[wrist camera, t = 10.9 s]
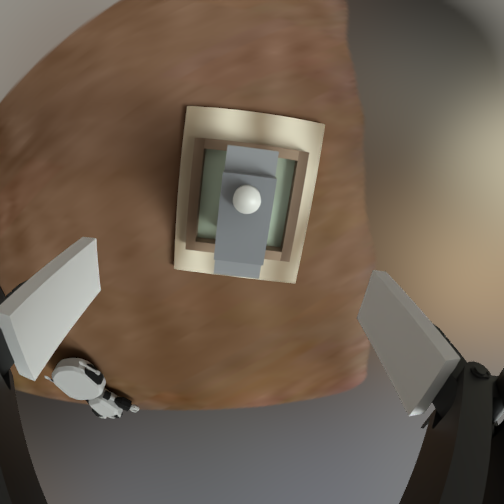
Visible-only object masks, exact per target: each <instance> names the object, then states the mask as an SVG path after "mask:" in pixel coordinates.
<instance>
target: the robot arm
mask: <svg viewBox="0 0 504 504" xmlns="http://www.w3.org/2000/svg"><path fill="white" fill-rule="evenodd" d="M100 290H101V288H100V279H99V269H98V258H97V243H96V238H88V237H82V238H81V239H79V240H78V241H77V242H75V243H74V244H73V245H71V246H70V247H69V248H67V249H66V250H65V251H63V252H62V253H61V254H60V255H58V256H57V257H56V258H54V259H53V260H52V261H51V262H49V263H48V264H47V265H46V266H44V267H43V268H42V269H41V270H40V271H38V272H37V273H36V274H35V275H34V276H32V277H31V278H30V279H29V280H27V281H25V282H23V283H21V284H19V285H18V286H17V287H16V288H14V289H13V290H12V292H10V293H9V294H8V295H6V297H5V295H4V293H3V291H2V289H1V288H0V504H47V501H46V499H45V496H44V494H43V491H42V489H41V487H40V484H39V481H38V478H37V476H36V473H35V470H34V467H33V464H32V461H31V458H30V454H29V451H28V448H27V444H26V440H25V436H24V433H23V429H22V424H21V420H20V415H19V411H18V405H17V400H16V394H15V388H14V381H13V375H12V372H11V370H10V368H11V366H12V365H13V364H14V363H15V365H16V368H17V370H18V372H19V374H20V375H22V376H24V377H26V378H29V379H31V380H34V381H35V380H36V378H37V377H38V375H39V374H40V372H41V371H42V369H43V368H44V366H45V365H46V363H47V362H48V360H49V359H50V357H51V356H52V355H53V353H54V352H55V350H56V349H57V347H58V346H59V345H60V343H61V342H62V340H63V339H64V338H65V336H66V335H67V333H68V332H69V331H70V329H71V328H72V327H73V325H74V324H75V323H76V321H77V320H78V319H79V317H80V316H81V315H82V313H83V312H84V311H85V309H86V308H87V307H88V306H89V304H90V303H91V302H92V300H93V299H94V298H95V297H96V295H97V294H98V293H99V292H100ZM357 319H358V321H359V323H360V325H361V326H362V328H363V330H364V332H365V333H366V335H367V337H368V339H369V341H370V343H371V344H372V346H373V348H374V350H375V352H376V353H377V355H378V357H379V359H380V361H381V363H382V365H383V367H384V369H385V370H386V372H387V374H388V376H389V378H390V380H391V382H392V384H393V386H394V388H395V390H396V392H397V394H398V396H399V397H400V400H401V402H402V404H403V406H404V408H405V410H406V412H407V414H408V416H413V415H418V414H423V413H424V412H425V411H426V410H427V408H428V407H429V406H430V404H431V403H433V404H434V406H435V410H434V411H433V412H432V414H431V415H430V416H429V417H428V419H427V420H426V421H425V423H424V424H423V425H422V427H421V428H424V427H425V426H426V425H427V424H428V427H427V431H426V434H425V437H424V441H423V444H422V447H421V450H420V453H419V456H418V459H417V462H416V464H415V467H414V470H413V472H412V475H411V477H410V480H409V482H408V485H407V487H406V489H405V492H404V494H403V496H402V498H401V501H400V503H399V504H504V420H503V421H502V423H501V424H500V425H498V423H497V420H498V419H499V418H500V416H501V415H502V414H503V413H504V368H503V370H502V372H501V373H500V375H499V376H491V374H490V372H489V371H488V370H487V369H486V368H485V367H484V366H483V365H481V364H479V363H477V362H468V363H467V362H466V360H465V359H464V358H463V357H462V355H461V354H460V353H459V352H458V350H457V349H456V348H455V347H454V346H453V344H452V343H450V341H449V339H448V338H446V336H445V335H444V333H443V332H442V331H441V330H440V329H439V328H438V327H437V326H435V325H434V324H433V323H432V322H431V321H430V320H429V319H428V318H427V317H426V315H425V314H424V313H423V312H422V311H421V310H420V309H419V308H418V306H417V305H416V304H415V303H414V302H413V301H412V300H411V299H410V297H409V296H408V295H407V294H406V293H405V292H404V291H403V290H402V289H401V287H400V286H399V285H398V284H397V283H396V282H395V281H394V280H393V279H392V278H391V277H390V276H389V274H388V273H386V272H385V271H376V270H373V271H372V274H371V277H370V281H369V284H368V287H367V290H366V293H365V296H364V299H363V302H362V305H361V308H360V310H359V313H358V316H357Z"/></svg>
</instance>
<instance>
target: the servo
mask: <svg viewBox="0 0 504 504" xmlns="http://www.w3.org/2000/svg"><path fill="white" fill-rule="evenodd" d="M278 155H279V152H278V151H272V150H265V149H258V148H250V147H243V146H234V145H228V146H227V154H226V162H225V170H224V171H223V175H222V184H221V193H220V202H219V211H218V220H217V230H216V240H215V251H214V260H215V264H214V274H222V275H230V276H238V277H247V278H256V279H259V276H260V270H261V265H263V263H264V257H265V251H266V245H267V239H268V233H269V227H270V220H271V214H272V208H273V202H274V195H275V189H276V182H277V178H276V177H275V175H276V168H277V162H278Z"/></svg>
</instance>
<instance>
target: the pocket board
mask: <svg viewBox="0 0 504 504" xmlns="http://www.w3.org/2000/svg"><path fill="white" fill-rule="evenodd" d="M324 128H325V124H321V123H317V122H312V121H307V120H301V119H296V118H290V117H285V116H279V115H272V114H265V113H258V112H251V111H242V110H234V109H224V108H212V107H199V106H187V111H186V119H185V127H184V135H183V144H182V153H181V163H180V174H179V186H178V199H177V214H176V232H175V257H174V269H178V270H186V271H193V272H201V273H209V274H214V264H215V260H214V251H215V240H216V230H217V220H218V211H219V202H220V193H221V184H222V175H223V171H224V170H225V162H226V154H227V146H228V145H234V146H243V147H250V148H258V149H265V150H272V151H278V152H279V155H278V162H277V168H276V175H275V177H276V178H277V182H276V189H275V195H274V202H273V208H272V214H271V220H270V227H269V233H268V239H267V245H266V251H265V257H264V263H263V265H261V270H260V276H259V280H268V281H277V282H286V283H295V282H296V277H297V273H298V268H299V263H300V259H301V254H302V249H303V244H304V240H305V235H306V230H307V225H308V220H309V215H310V209H311V204H312V199H313V193H314V188H315V182H316V177H317V171H318V165H319V159H320V153H321V147H322V141H323V135H324ZM217 275H222V274H217ZM225 276H230V275H225ZM233 277H238V276H233ZM242 278H247V277H242ZM250 279H256V278H250Z"/></svg>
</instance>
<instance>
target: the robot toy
mask: <svg viewBox="0 0 504 504" xmlns="http://www.w3.org/2000/svg"><path fill="white" fill-rule="evenodd" d="M45 378H46V379H49V380H50V381H52V382H54V383H55V385H56V386H58V387H59V388H60V389H61V390H62V391H63V392H64V393H66V394H67V395H68V396H69V397H72V398H74V399H78V400H86V401H87V402H88V403H89V405H90V406H91V407H92V411H93V412H94V414H95V415H96V416H98V417H100V418H104V419H106V418H107V417H110V418H113V419H115V417H116V418H120V417H121V416H122V410H126V411H128V410H129V409H130V410H131V411H132V412H137V411H138V410H139V407H138V406H136V405H132V404H131V402H132V401H130V400H128V399H126V398H124V397H118V396H117V395H116V394H114V393H113V392H110V391H109V390H107V389H106V388H104V387H105V383H106V381H105V378H104V376H103V374H102V373H101V372H100V371H98V370H97V369H96V368H95V367H94V366H93V365H92V364H91V363H90V362H89V361H87V360H84V359H81V358H68V359H63V360H61V361H60V362H59V363H58V364H57V366H56V367H55V369H54V371H53V373H52V379H53V380H52V379H50V378H49V377H47V376H45Z"/></svg>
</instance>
